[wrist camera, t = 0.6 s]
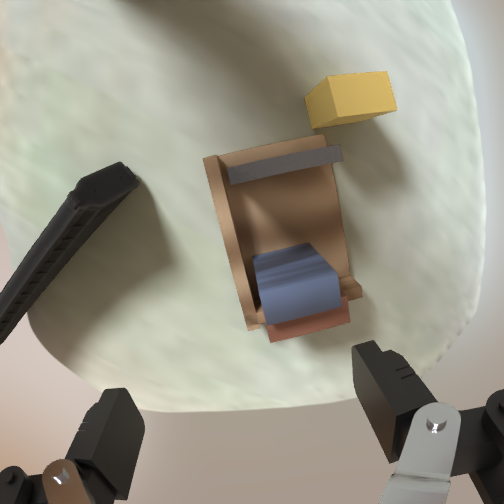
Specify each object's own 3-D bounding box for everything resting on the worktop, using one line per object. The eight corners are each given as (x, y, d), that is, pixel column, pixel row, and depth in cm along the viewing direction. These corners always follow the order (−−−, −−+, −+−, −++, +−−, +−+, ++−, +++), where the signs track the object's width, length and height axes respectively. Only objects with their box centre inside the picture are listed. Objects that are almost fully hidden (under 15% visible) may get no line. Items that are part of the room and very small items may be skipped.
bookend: (229, 167, 31) (226, 168, 21) (308, 150, 31) (339, 144, 21) (232, 179, 31) (230, 185, 21) (311, 162, 31) (343, 160, 21)
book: (304, 98, 31) (327, 76, 22) (351, 91, 31) (387, 71, 22) (312, 129, 32) (338, 117, 23) (359, 121, 32) (397, 110, 23)
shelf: (207, 159, 32) (192, 155, 21) (320, 134, 32) (360, 121, 21) (246, 309, 36) (251, 368, 25) (347, 284, 36) (388, 330, 25)
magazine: (111, 140, 22) (-68, 367, 18) (136, 170, 23) (-48, 390, 19) (129, 173, 39) (-7, 323, 34) (144, 191, 40) (7, 339, 35)
